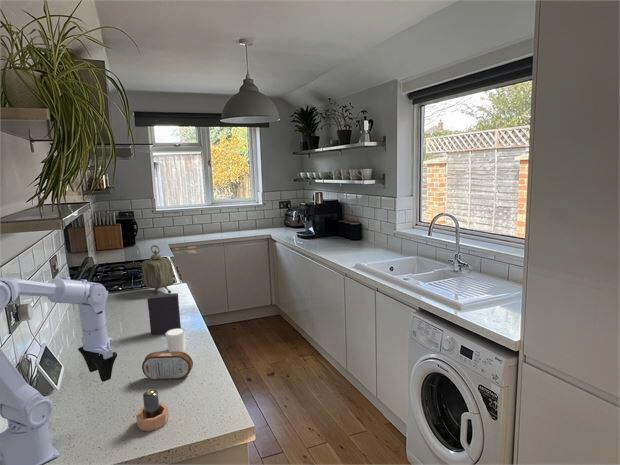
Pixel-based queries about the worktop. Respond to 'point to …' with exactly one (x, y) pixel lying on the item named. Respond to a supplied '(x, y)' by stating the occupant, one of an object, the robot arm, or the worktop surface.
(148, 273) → the tabletop clock
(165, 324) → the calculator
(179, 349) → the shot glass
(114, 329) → the worktop surface
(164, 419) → the cup
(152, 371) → the tin
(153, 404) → the cell
